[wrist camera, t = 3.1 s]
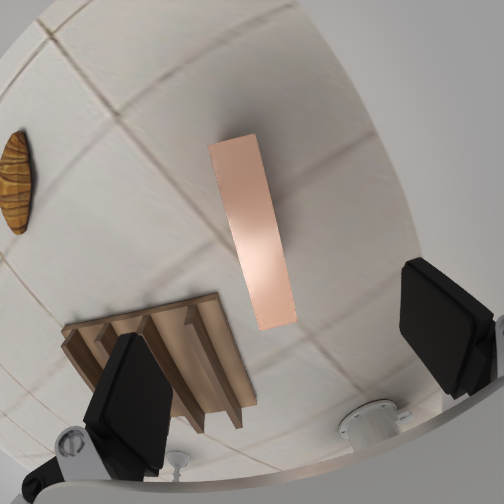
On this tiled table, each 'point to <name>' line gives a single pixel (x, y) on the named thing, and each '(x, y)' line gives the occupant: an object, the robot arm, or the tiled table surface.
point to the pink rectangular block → (254, 229)
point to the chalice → (177, 462)
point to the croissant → (15, 183)
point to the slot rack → (173, 355)
